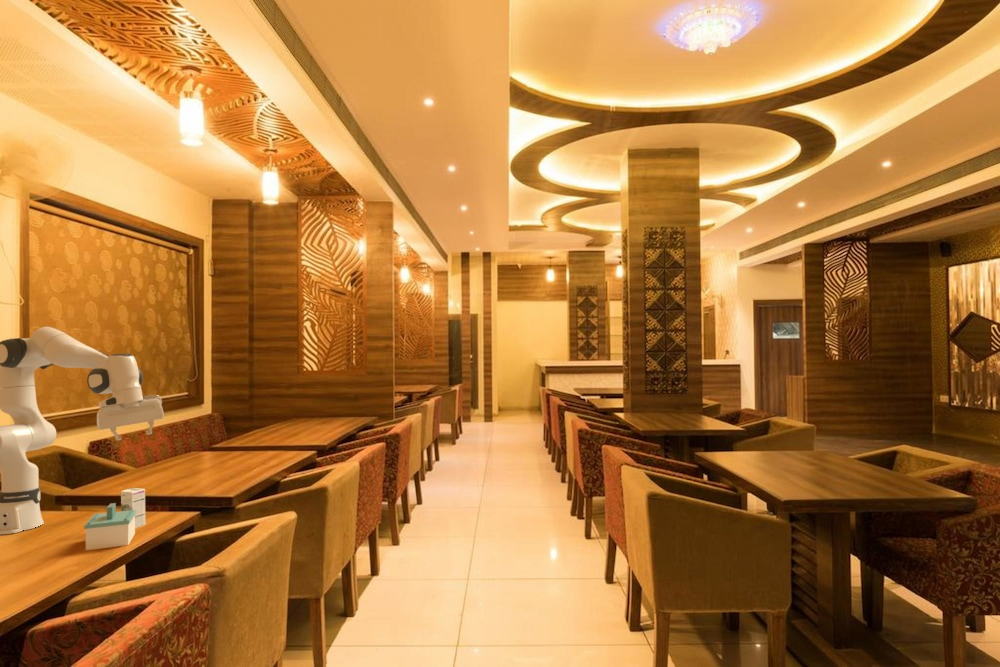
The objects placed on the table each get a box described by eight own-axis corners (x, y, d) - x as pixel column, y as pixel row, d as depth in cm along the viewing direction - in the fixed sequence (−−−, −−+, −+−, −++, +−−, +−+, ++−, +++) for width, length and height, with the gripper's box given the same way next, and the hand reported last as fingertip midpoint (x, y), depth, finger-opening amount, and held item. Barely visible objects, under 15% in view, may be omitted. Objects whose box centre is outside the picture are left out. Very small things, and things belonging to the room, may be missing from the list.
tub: (85, 553, 199) (85, 528, 200) (95, 541, 212) (95, 517, 213) (128, 547, 204) (128, 523, 204) (135, 536, 217) (134, 513, 217)
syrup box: (146, 527, 228) (146, 488, 229) (132, 531, 223) (131, 491, 223) (134, 526, 230) (134, 487, 230) (120, 530, 224) (120, 490, 225)
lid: (84, 532, 199) (84, 512, 199) (94, 521, 213) (94, 502, 213) (129, 527, 204) (129, 508, 204) (136, 516, 218) (135, 498, 218)
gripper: (158, 394, 225) (164, 431, 224) (92, 404, 211) (98, 444, 210) (163, 392, 220) (169, 430, 219) (96, 402, 206) (102, 443, 205)
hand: (134, 437), depth 214 cm, fingers open, 8 cm apart
